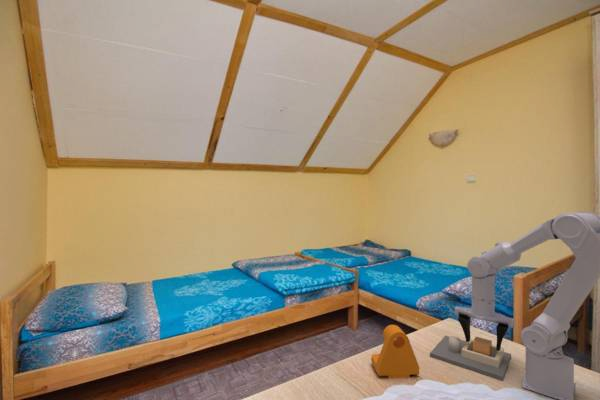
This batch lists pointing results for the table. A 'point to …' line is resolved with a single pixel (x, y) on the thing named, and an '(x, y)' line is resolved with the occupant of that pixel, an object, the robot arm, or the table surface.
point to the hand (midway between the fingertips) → (482, 344)
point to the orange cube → (482, 346)
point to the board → (472, 357)
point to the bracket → (395, 355)
